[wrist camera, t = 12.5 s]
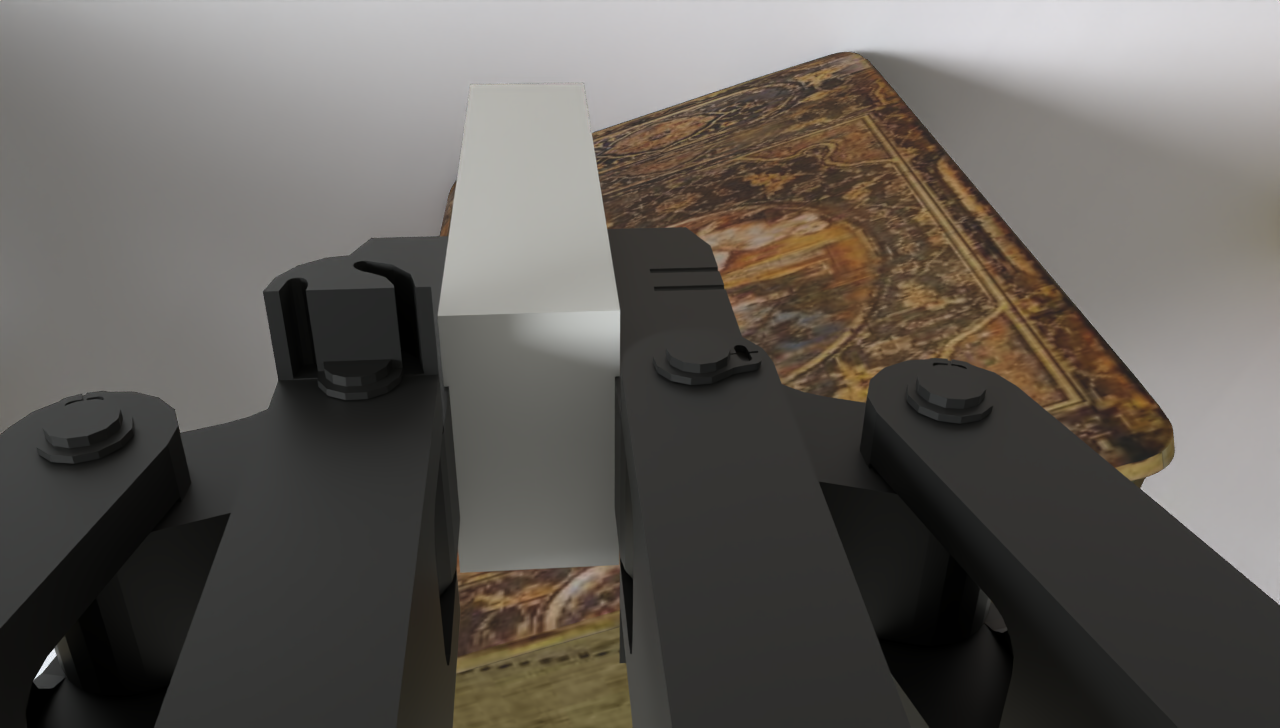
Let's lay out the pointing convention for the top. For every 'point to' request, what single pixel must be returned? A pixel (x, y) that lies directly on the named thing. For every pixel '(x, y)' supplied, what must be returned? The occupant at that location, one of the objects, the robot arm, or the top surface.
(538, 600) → the book
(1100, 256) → the top surface
